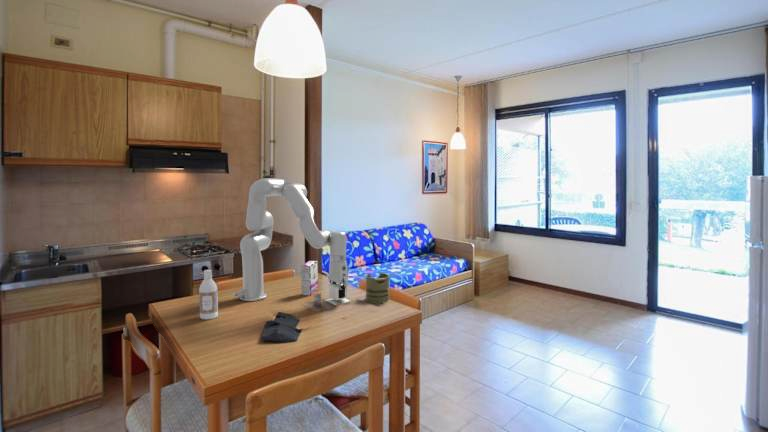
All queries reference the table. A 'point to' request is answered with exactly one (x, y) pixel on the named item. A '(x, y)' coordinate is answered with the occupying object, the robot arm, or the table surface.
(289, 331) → the dark slate chunk
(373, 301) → the piston
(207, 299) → the bath foam
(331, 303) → the post board
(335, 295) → the white cube
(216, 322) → the table surface
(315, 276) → the candy bar box
